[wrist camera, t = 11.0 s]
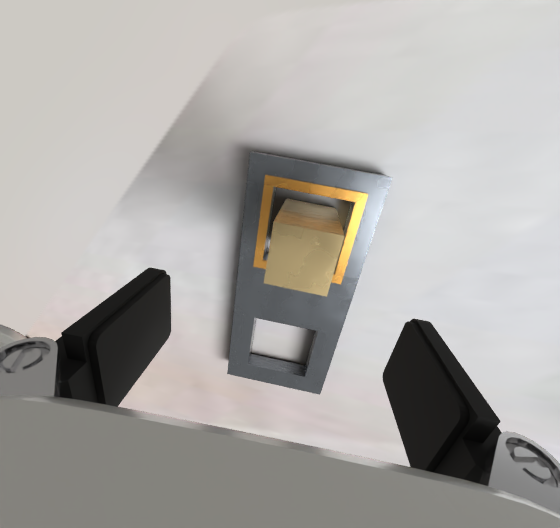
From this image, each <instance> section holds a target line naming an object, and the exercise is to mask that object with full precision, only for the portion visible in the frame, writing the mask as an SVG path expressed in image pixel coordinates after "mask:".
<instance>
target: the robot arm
mask: <svg viewBox="0 0 560 528" xmlns="http://www.w3.org/2000/svg"><path fill="white" fill-rule="evenodd" d="M170 333H171V293H170V276H169V275H167V274H166V271H165V270H160V269H155V268H148V269H146V270H145V271H144V272H142V273H141V274H140V275H138V276H137V277H136V278H134V279H133V280H132V281H130V282H129V283H128V284H126V285H125V286H124V287H122V288H121V289H120V290H118V291H117V292H116V293H114V294H113V295H111V296H110V297H109V298H107V299H106V300H105V301H103V302H102V303H101V304H99V305H98V306H97V307H95V308H94V309H93V310H91V311H90V312H89V313H87V314H86V315H85V316H83V317H82V318H81V319H79V320H78V321H77V322H75V323H74V324H72V325H71V326H70V327H68V328H67V329H66V330H64V331H63V332H62V333H61V334H62V337H60V338H59V339H58V340H56V341H54V340H52V339H49V338H45V337H34V338H26V337H25V336H23V335H22V334H20V333H18V332H16V331H15V330H13V329H11V328H8V327H5V326H2V325H0V528H560V464H559V463H558V461H557V460H556V459H555V458H554V457H553V456H552V455H551V454H549V453H548V452H547V451H546V450H545V449H544V448H542V447H541V446H539V445H538V444H537V443H535V442H534V441H532V440H530V439H528V438H527V437H525V436H523V435H520V434H517V433H515V432H503V433H501V431H500V430H499V428H498V427H497V425H498V424H499V423H500V420H499V419H498V417H497V416H496V414H495V413H494V411H493V410H492V409H491V407H490V406H489V404H488V403H487V402H486V400H485V399H484V397H483V396H482V394H481V393H480V392H479V390H478V389H477V387H476V386H475V385H474V383H473V382H472V380H471V379H470V377H469V376H468V375H467V373H466V372H465V370H464V369H463V368H462V366H461V365H460V363H459V362H458V361H457V359H456V358H455V356H454V355H453V353H452V352H451V351H450V349H449V348H448V346H447V345H446V344H445V342H444V341H443V339H442V338H441V336H440V335H439V334H438V332H437V331H436V329H435V328H434V327H433V325H432V324H431V323H430V322H428V321H423V320H418V319H412V320H411V321H410V322H409V321H408V322H406V323H405V325H404V328H403V330H402V332H401V334H400V336H399V339H398V341H397V343H396V345H395V348H394V350H393V352H392V354H391V356H390V359H389V361H388V363H387V365H386V367H385V370H384V372H383V382H384V385H385V389H386V392H387V395H388V398H389V401H390V404H391V407H392V410H393V413H394V416H395V420H396V423H397V426H398V429H399V432H400V435H401V438H402V441H403V444H404V447H405V451H406V454H407V457H408V460H409V463H410V466H411V467H407V466H402V465H398V464H393V463H388V462H384V461H379V460H374V459H370V458H365V457H360V456H356V455H351V454H346V453H342V452H337V451H332V450H328V449H323V448H318V447H313V446H308V445H304V444H299V443H294V442H289V441H284V440H280V439H275V438H270V437H265V436H260V435H256V434H251V433H246V432H241V431H236V430H231V429H227V428H222V427H217V426H212V425H207V424H202V423H197V422H192V421H187V420H182V419H177V418H172V417H167V416H162V415H157V414H152V413H147V412H142V411H137V410H132V409H127V408H121V407H118V405H119V404H120V403H121V401H122V400H123V399H124V397H125V396H126V395H127V393H128V392H129V390H130V389H131V388H132V386H133V385H134V384H135V382H136V381H137V380H138V378H139V377H140V376H141V374H142V373H143V372H144V370H145V369H146V368H147V366H148V365H149V363H150V362H151V361H152V359H153V358H154V357H155V355H156V354H157V353H158V351H159V350H160V349H161V347H162V346H163V345H164V343H165V342H166V341H167V339H168V338H169V336H170Z"/></svg>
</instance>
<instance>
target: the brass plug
mask: <svg viewBox="0 0 560 528" xmlns="http://www.w3.org/2000/svg"><path fill="white" fill-rule="evenodd" d="M343 240H344V233H343V229H342V226H341V223H340V220H339V217H338V213H337V210H336V208H333V207H328V206H323V205H318V204H312V203H307V202H302V201H297V200H292V199H287V198H286V200H285V202H284V204H283V206H282V207H281V209H280V211H279V213H278V215H277V216H276V218H275V220H274V222H273V228H272V234H271V241H270V247H269V253H268V259H267V265H266V271H265V277H264V283H265V284H269V285H274V286H279V287H284V288H288V289H293V290H298V291H302V292H307V293H312V294H317V295H321V296H326V297H327V294H328V291H329V288H330V284H331V281H332V277H333V274H334V271H335V267H336V264H337V260H338V257H339V253H340V250H341V247H342V243H343Z"/></svg>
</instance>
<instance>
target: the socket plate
mask: <svg viewBox="0 0 560 528" xmlns="http://www.w3.org/2000/svg"><path fill="white" fill-rule="evenodd" d="M391 181H392V177H389V176H387V175H381V174H376V173H370V172H365V171H359V170H354V169H348V168H343V167H337V166H332V165H326V164H321V163H315V162H310V161H304V160H299V159H293V158H288V157H282V156H277V155H271V154H266V153H260V152H255V151H254V152H250V158H249V168H248V177H247V187H246V197H245V207H244V216H243V226H242V236H241V246H240V256H239V265H238V275H237V285H236V295H235V305H234V314H233V324H232V334H231V344H230V353H229V363H228V373H227V374H230V375H235V376H239V377H244V378H248V379H253V380H257V381H262V382H266V383H271V384H275V385H280V386H284V387H289V388H293V389H298V390H302V391H307V392H311V393H316V394H320V393H321V390H322V387H323V384H324V381H325V378H326V375H327V372H328V369H329V366H330V363H331V360H332V357H333V354H334V351H335V348H336V345H337V342H338V339H339V336H340V333H341V330H342V327H343V324H344V321H345V318H346V315H347V312H348V309H349V306H350V303H351V301H352V298H353V295H354V292H355V289H356V286H357V283H358V280H359V277H360V274H361V271H362V268H363V265H364V262H365V259H366V256H367V253H368V250H369V247H370V244H371V241H372V238H373V235H374V232H375V229H376V226H377V223H378V220H379V217H380V214H381V211H382V208H383V205H384V202H385V199H386V196H387V193H388V190H389V187H390V184H391ZM276 187H278V188H284V189H289V190H294V191H299V192H305V193H310V194H315V195H321V196H326V197H331V198H337V199H342V200H347V201H352V202H351V205H350V209H349V212H348V216H347V219H346V223H345V227H344V230H343V233H344V240H343V243H342V247H341V250H340V253H339V257H338V260H337V264H336V267H335V271H334V274H333V277H332V281H331V284H330V288H329V291H328V294H327V297H326V296H321V295H317V294H312V293H307V292H302V291H298V290H293V289H288V288H284V287H279V286H274V285H269V284H265V283H264V277H265V271H266V265H267V259H268V253H266V250H267V244H268V237H269V230H270V224H271V217H272V210H273V204H274V197H275V191H276ZM256 318H259V319H263V320H268V321H273V322H278V323H282V324H287V325H292V326H297V327H301V328H306V329H311V330H315V334H314V337H313V341H312V345H311V348H310V352H309V355H308V359H307V362H306V366H305V365H300V364H296V363H291V362H287V361H282V360H277V359H273V358H268V357H264V356H259V355H255V354H251V350H252V344H253V337H254V330H255V324H256Z"/></svg>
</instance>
